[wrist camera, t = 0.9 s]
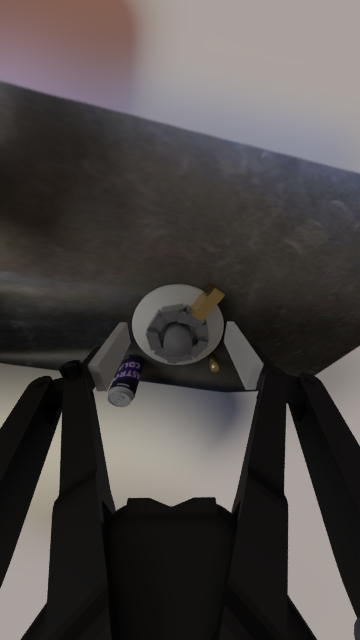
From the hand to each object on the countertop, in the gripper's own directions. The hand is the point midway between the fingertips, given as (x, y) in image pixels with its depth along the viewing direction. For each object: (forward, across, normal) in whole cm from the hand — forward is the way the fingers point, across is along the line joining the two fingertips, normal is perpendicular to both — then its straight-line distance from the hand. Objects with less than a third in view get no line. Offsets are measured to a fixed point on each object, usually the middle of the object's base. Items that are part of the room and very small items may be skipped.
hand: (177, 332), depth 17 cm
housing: (+18, 0, -10) cm, 20 cm away
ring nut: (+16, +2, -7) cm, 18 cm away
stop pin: (+18, +9, -19) cm, 28 cm away
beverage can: (+18, -13, -20) cm, 30 cm away
